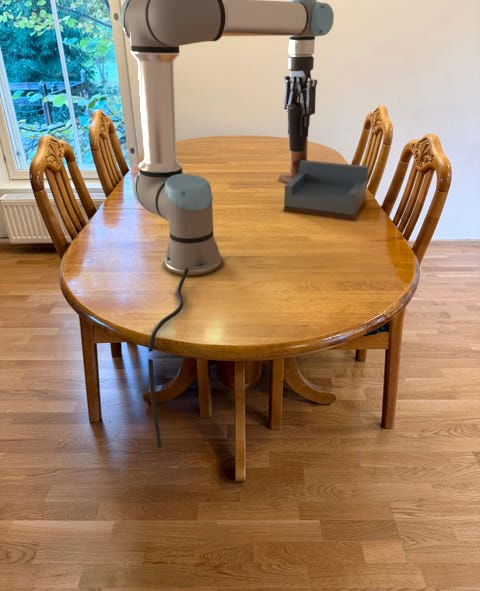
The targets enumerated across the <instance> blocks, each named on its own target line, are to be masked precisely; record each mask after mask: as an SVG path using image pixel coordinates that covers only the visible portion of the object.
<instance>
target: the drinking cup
mask: <svg viewBox="0 0 480 591" xmlns="http://www.w3.org/2000/svg"><path fill="white" fill-rule="evenodd" d="M287 105H288V104H287ZM287 109H288V112H287V124H288V125H287V127H288V126H289V134H288V142H289V143H288V144H289V145H288V146H289V152H290V151H293V152H302V151H304V149H305V142H306V137H303V138H300V123H301V115H302V114H303V113H302V110H303V108H302V104H301V102H300V93H299V92H298V102H295V103H292V104H290V105H288V106H287Z"/></svg>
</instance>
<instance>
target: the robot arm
mask: <svg viewBox="0 0 480 591" xmlns="http://www.w3.org/2000/svg"><path fill="white" fill-rule="evenodd" d="M334 13H335V12H334V10H333V8H332V6H331V5H330V4H329V3H327V2H321V1H317V0H290V1H285V0H284V1H283V0H124V1H123V3H122V6H121V10H120V24H121V27H122V30H123V32H124V34H125V35H126V36H127V37H128V39H129V40H130V42H129V44H130V53H131V54H132V56H133V57H134V58H135V59H136V60H137V64H138V65H137V66H138V80H139V82H138V83H139V96H140V113H141V114H140V115H141V129H142V145H143V160H142V162H140V163H139V165H138V173H137V177H135V178H134V181H133V187H132V188H133V195H134V198H135V200H136V201H137V203H138V204H139V205H140V206H142V208H144V209H145V210H147V211H148V212H149V213H152V214H155V215H157V216H158V217H161V218H162V219H164V220H166V221H167V222H168V233H169V240H168V245H167V248H166V252H165V256H164V257H165V258H164V262H165V263H164V264H165V268H166V269H167V271H169V272H170V273H172V274H174V275H178V276H181V278H180V281H179V282H178V285H177V288H176V298H177V299H178V306H177V308H176V309H175V310H174V311H173V312H171V313H170V314H168V315H166V316H165V317H164V318H161V320H160V321H159V322H158V323H157V324H156V326H155V327H154V329H152V332H151V334H150V337H149V343H148V350H147V351H148V352H149V353H151V352H153V351H154V345H155V339H156V335H157V333H158V332H159V331H160V329H161V328H162V327H163V326H164V324H166V323H167V322H169V321H170V320H171V319H173V318H175V317H176V316H177V315H178V314H179V313H180V312H181V311H182V309H183V307H184V300H183V299H184V298H183V297H182V287H183V285H184V283H185V280H186V278H187V277H199V276H204V275H208V274H211V273H213V272H215V271H216V270H218V269H219V268H220V267H221V265H222V255H221V252H220V249H219V247H218V244H217V242H216V239H215V236H214V214H213V198H214V196H213V192H212V186H211V184H210V182H209V180H207V179H206V178H204V177H202V176H200V175H198V174H190V173H184V172H183V165H182V163H181V162H180V161H179V160H177V135H176V134H177V132H176V131H177V130H176V128H177V127H176V104H175V103H176V100H175V98H176V97H175V75H174V74H175V70H174V62H175V60H176V59H177V58H178V57H179V55H180V46H185V45H191V44H198V43H206V42H218V41H219V40H221V38H222V37H274V36H275V37H286V36H288V37H289V39H288V44H289V45H288V55H290V56H289V57H288V70H289V71H290V73H289V74H290V75H286V76H285V75H284V79H283V80H284V99H283V110H286V112H287V113H288V109H287V106H288V105H290V104H292V103H295V102H297V100H298V92H299V93H300V96H301V104H302V108H303V110H302V113H303V114H302V115H301V123H300V138H303V137H307V138H308V137H309V127H310V121H311V116H312V115H315V114H316V95H317V94H316V93H317V84H318V80H317V79H315V78H314V79H313V78H312V74H311V72H312V70H314V63H315V57H314V56H313V55H314V54H315V40H316V37H324V36H326V35H327V34H329V33H330V31H331V30H332V28H333V26H334V18H335V17H334V16H335V14H334ZM287 134H288V135H289V126H288V125H287ZM147 364H148V378H149V379H148V381H149V393H150V402H151V410H152V411H151V412H152V419H153V425H154V432H155V441H156V447H157V449H161V448H162V440H161V439H162V438H161V432H160V430H161V429H160V423H159V414H158V409H157V408H158V407H157V401H156V400H157V399H156V391H155V377H154V360H153V359H151V358H148V359H147Z"/></svg>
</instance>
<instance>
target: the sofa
mask: <svg viewBox="0 0 480 591" xmlns="http://www.w3.org/2000/svg"><path fill="white" fill-rule="evenodd" d="M369 169H370V167H369V166H368V165H359V164H350V163H340V162H339V163H338V162H330V161H329V162H328V161H319V160H318V161H317V160H308V159H307V160H301V161H300V173H299V174H297V175H296V176H295V177H294V178H293V179H292V180H291V181H290V182H289V183H287V182H286V184H284V196H283V199H284V200H283V201H284V202H283V212H287V213H293V214H294V213H295V214H301V215H310V216H318V217H324V218H331V219H339V220H346V221H354V220H355V219H356V217H357V216H358V214H359V213H360V210H362V207H363V206H364V204H365V202H366V194H367V185H368V177H369Z"/></svg>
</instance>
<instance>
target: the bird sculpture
mask: <svg viewBox="0 0 480 591" xmlns="http://www.w3.org/2000/svg"><path fill="white" fill-rule="evenodd" d="M297 102H298V100H297ZM300 102H301V96H300ZM308 143H309V142H308V137H306V142H305V149H304V151H302V152H293V151H290V150H289V172H286V173H281V174H279V175H278V181H280V182H283V183H286V184H287V183H289V182H290V181H291V180H292V179H293V178H294V177H295V176H296V175H297V174H299V173H300V161H301V160H308Z"/></svg>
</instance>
